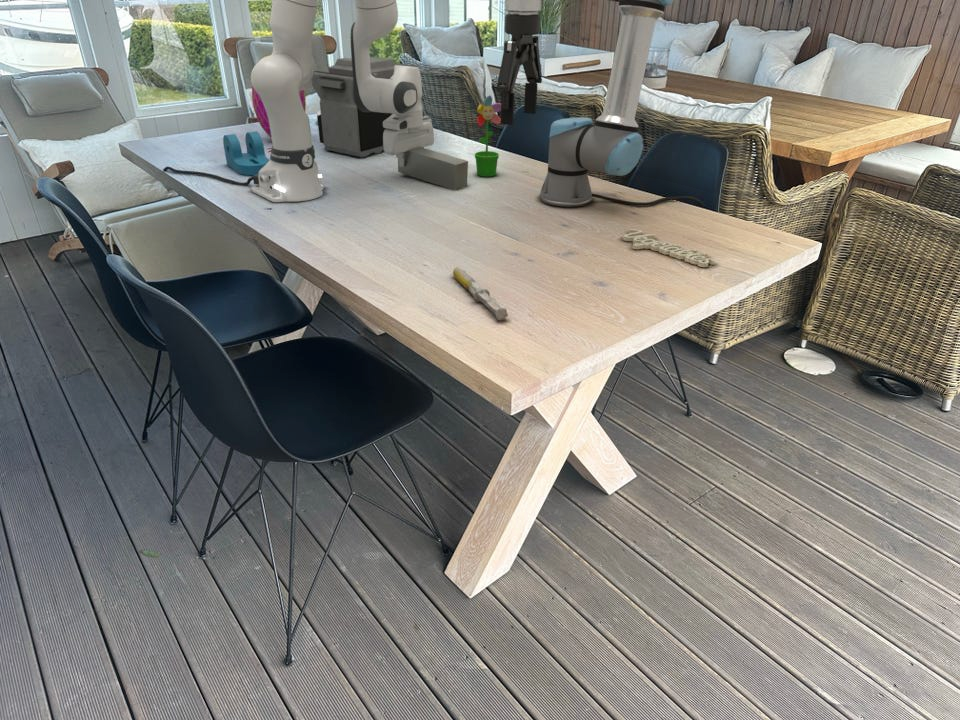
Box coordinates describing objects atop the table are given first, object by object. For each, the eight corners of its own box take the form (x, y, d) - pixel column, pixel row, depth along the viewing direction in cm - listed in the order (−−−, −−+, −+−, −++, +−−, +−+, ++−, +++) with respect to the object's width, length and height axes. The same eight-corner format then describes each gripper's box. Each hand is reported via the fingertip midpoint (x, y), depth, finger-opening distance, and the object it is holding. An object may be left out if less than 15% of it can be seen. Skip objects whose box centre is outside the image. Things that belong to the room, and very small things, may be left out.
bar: (467, 186, 215) (468, 160, 211) (455, 190, 211) (455, 164, 207) (410, 168, 227) (410, 143, 223) (397, 172, 223) (397, 147, 219)
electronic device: (383, 133, 276) (378, 52, 261) (425, 141, 265) (422, 56, 250) (314, 150, 251) (304, 61, 235) (358, 160, 240) (350, 67, 224)
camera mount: (227, 164, 233) (221, 132, 227) (257, 160, 238) (252, 129, 233) (244, 176, 220) (239, 143, 215) (276, 172, 225) (271, 139, 220)
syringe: (449, 274, 155) (449, 263, 153) (465, 272, 156) (464, 260, 154) (490, 323, 135) (491, 310, 133) (508, 319, 136) (508, 307, 134)
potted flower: (480, 178, 221) (480, 97, 208) (469, 172, 227) (469, 93, 214) (505, 175, 225) (507, 94, 212) (494, 169, 231) (495, 90, 218)
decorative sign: (608, 236, 174) (633, 227, 180) (608, 240, 175) (632, 231, 180) (698, 267, 157) (722, 256, 163) (698, 271, 158) (721, 260, 163)
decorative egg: (293, 132, 276) (283, 50, 261) (319, 140, 264) (310, 56, 249) (249, 139, 265) (236, 54, 250) (273, 148, 253) (261, 60, 238)
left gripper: (423, 113, 224) (424, 156, 231) (378, 123, 210) (381, 168, 217) (438, 115, 221) (439, 159, 228) (393, 125, 207) (395, 171, 214)
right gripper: (528, 9, 155) (524, 107, 165) (481, 16, 135) (480, 127, 146) (559, 10, 152) (553, 110, 163) (516, 17, 132) (512, 131, 143)
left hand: (410, 163), depth 222 cm, fingers closed on bar, 6 cm apart
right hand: (518, 118), depth 154 cm, fingers open, 13 cm apart
